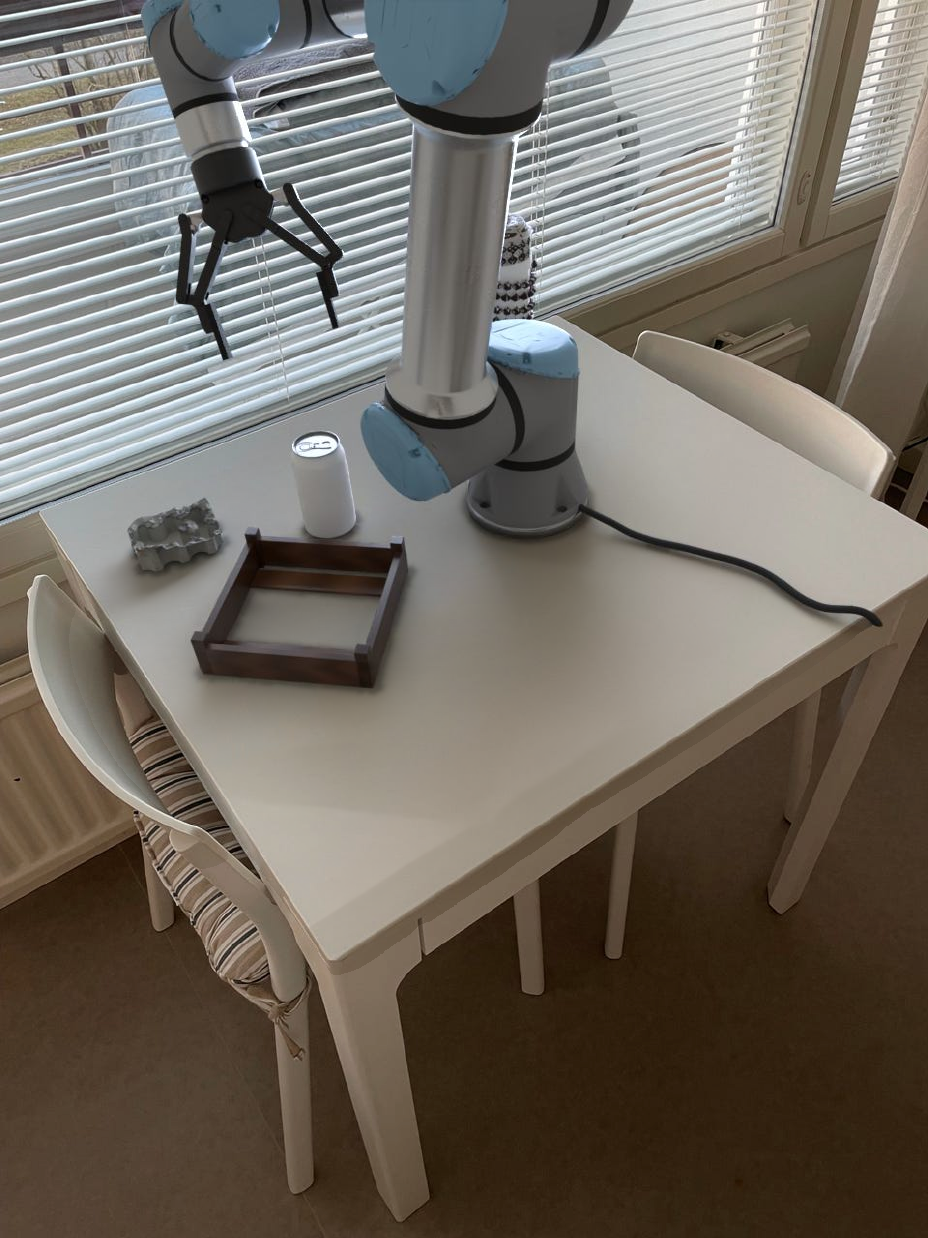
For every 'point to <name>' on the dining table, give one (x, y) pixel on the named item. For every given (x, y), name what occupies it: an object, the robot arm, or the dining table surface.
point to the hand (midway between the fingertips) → (282, 343)
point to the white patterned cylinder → (515, 273)
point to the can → (323, 484)
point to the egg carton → (175, 535)
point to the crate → (311, 554)
